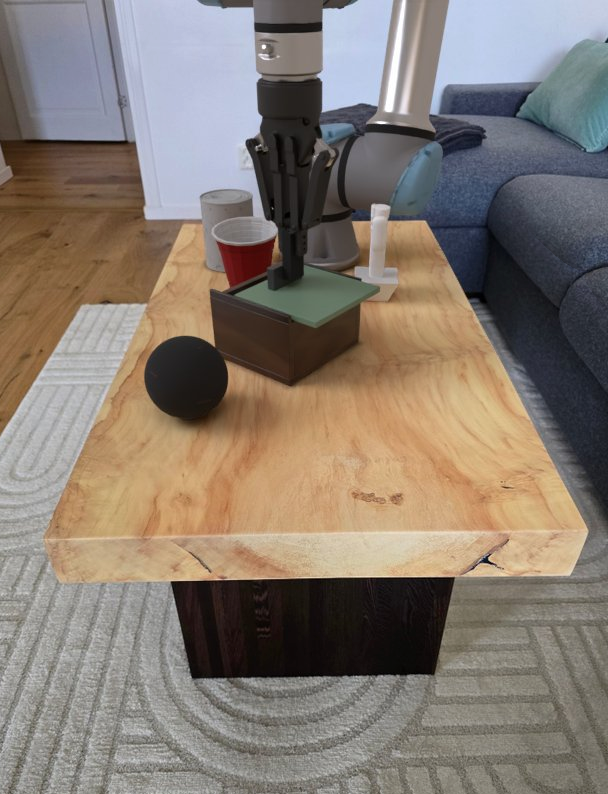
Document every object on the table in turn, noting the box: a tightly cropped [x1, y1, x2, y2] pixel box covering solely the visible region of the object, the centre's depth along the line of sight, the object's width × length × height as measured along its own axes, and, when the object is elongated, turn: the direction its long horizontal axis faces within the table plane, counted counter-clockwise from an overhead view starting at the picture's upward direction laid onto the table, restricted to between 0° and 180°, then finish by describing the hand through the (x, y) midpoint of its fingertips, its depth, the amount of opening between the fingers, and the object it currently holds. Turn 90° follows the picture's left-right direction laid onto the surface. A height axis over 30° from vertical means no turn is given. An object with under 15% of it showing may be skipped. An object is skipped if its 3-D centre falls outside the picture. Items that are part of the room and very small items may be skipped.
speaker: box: [143, 335, 229, 420], centre depth 77 cm, size 10×10×10 cm
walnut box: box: [209, 262, 362, 387], centre depth 90 cm, size 16×14×10 cm
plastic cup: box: [212, 216, 278, 288], centre depth 104 cm, size 11×11×12 cm
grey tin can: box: [199, 188, 254, 273], centre depth 117 cm, size 10×10×12 cm
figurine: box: [353, 204, 399, 302], centre depth 104 cm, size 7×9×15 cm
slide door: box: [235, 261, 380, 328], centre depth 84 cm, size 14×14×4 cm
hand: (293, 277), depth 86 cm, fingers closed
